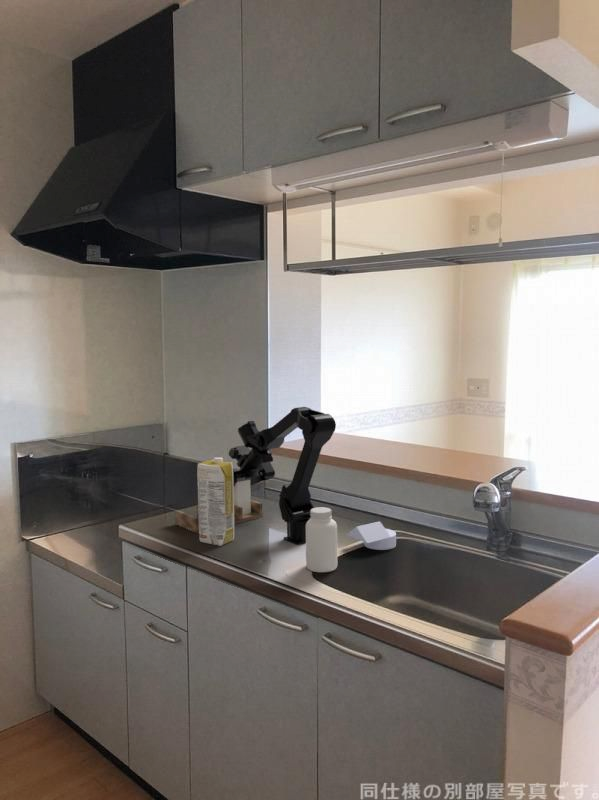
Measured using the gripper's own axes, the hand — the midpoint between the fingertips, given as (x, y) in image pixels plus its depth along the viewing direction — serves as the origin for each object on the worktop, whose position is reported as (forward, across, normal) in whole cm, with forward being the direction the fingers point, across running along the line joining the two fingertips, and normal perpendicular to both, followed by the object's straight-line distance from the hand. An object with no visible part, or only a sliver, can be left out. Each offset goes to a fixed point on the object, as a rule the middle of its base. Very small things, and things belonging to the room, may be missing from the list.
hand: (237, 487), depth 210 cm
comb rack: (+5, +8, +8) cm, 12 cm away
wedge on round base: (-28, -13, +42) cm, 52 cm away
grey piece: (+5, 0, +7) cm, 8 cm away
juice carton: (-6, +19, +20) cm, 28 cm away
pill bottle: (-31, +8, +44) cm, 55 cm away
